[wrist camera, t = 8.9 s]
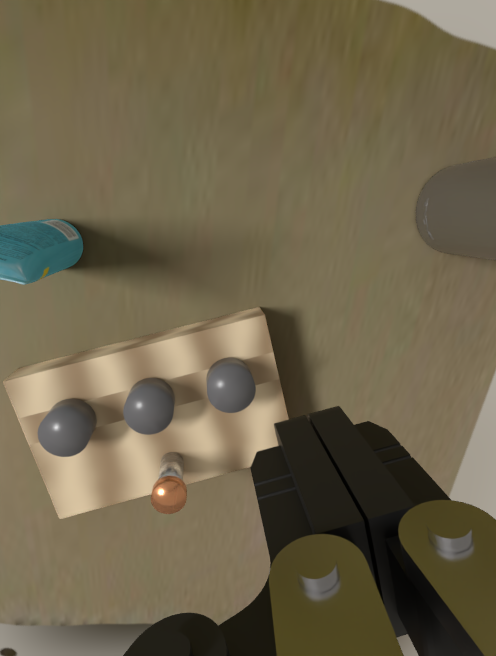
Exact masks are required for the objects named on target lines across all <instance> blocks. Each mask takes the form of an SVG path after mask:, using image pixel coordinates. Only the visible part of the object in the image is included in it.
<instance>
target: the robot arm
mask: <svg viewBox="0 0 496 656" xmlns="http://www.w3.org/2000/svg"><path fill="white" fill-rule="evenodd" d="M416 222H417V227H418V230H419V232H420V234H421V236H422V238H423V239H424V240H425V242H426V243H427V244H428V245H429V246H431V247H432V248H433V249H435V250H438V251H440V252H444V253H449V254H456V255H463V256H469V257H476V258H483V259H490V260H496V157H493V158H488V159H483V160H478V161H473V162H468V163H463V164H458V165H454V166H450V167H447V168H445V169H443V170H441V171H439V172H438V173H436V174H435V175H434V176H432V178H431V179H430V180H429V181H428V182H427V183H426V184H425V186H424V188H423V189H422V191H421V193H420V196H419V199H418V201H417V207H416ZM274 428H275V433H276V437H277V441H278V445H279V446H276V447H272V448H268V449H265V450H261V451H257V453H256V455H255V458H254V460H253V463H252V465H251V467H250V468H251V472H252V477H253V481H254V486H255V491H256V495H257V499H258V504H259V509H260V514H261V518H262V523H263V527H264V532H265V536H266V541H267V546H268V550H269V555H270V562H271V564H270V572H269V576H268V579H267V581H266V584H265V586H264V587H263V589H262V591H261V592H260V594H259V595H258V596H257V597H256V598H255V600H254V601H253V602H251V603H250V604H249V605H248V606H247V607H246V608H244V609H243V610H242V611H240V612H239V613H237V614H236V615H234V616H233V617H231V618H230V619H228V620H226V621H225V622H223V623H222V624H220V625H219V626H218V625H217V624H216V623H215V622H214V621H213V620H211V619H210V618H208V617H206V616H204V615H201V614H197V613H180V614H176V615H172V616H169V617H167V618H164V619H162V620H160V621H159V622H157V623H155V624H154V625H152V626H151V627H149V628H148V629H147V630H145V631H144V632H143V633H142V634H141V635H140V636H139V637H138V638H137V639H136V640H135V641H134V643H133V644H132V645H131V646H130V648H129V649H128V650H127V651H126V653H125V654H124V655H123V656H404V655H403V653H402V650H401V647H400V645H399V642H398V640H397V637H399V636H402V635H406V634H408V635H409V637H410V639H411V641H412V643H413V645H414V647H415V649H416V651H417V653H418V655H419V656H496V519H494V518H493V517H492V516H491V515H489V514H488V513H486V512H485V511H483V510H481V509H480V508H477V507H475V506H473V505H470V504H466V503H464V502H459V501H452V500H451V499H450V498H449V497H448V496H447V495H446V494H445V493H444V491H443V490H442V489H441V488H440V487H439V486H438V485H437V484H436V483H435V481H434V480H433V479H432V478H431V477H430V476H429V475H428V474H427V473H426V472H425V470H424V469H423V468H422V467H421V466H420V465H419V464H418V463H417V462H416V460H415V459H414V458H413V457H412V458H411V456H410V454H409V453H408V452H407V451H406V449H405V448H404V447H403V446H401V445H400V443H399V442H398V441H397V440H396V438H395V437H394V436H393V435H392V434H391V433H390V432H389V431H388V430H387V429H385V428H383V427H380V426H378V425H376V424H374V423H372V422H369V421H367V422H363V423H360V424H356V425H353V423H352V422H351V421H350V419H349V418H348V417H347V416H346V414H345V413H344V412H343V410H342V409H341V408H340V407H339V406H336V407H333V408H329V409H325V410H322V411H318V412H314V413H310V414H307V417H306V416H305V415H303V416H300V417H296V418H292V419H289V420H285V421H281V422H277V423H274Z"/></svg>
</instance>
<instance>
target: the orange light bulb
mask: <svg viewBox="0 0 496 656" xmlns="http://www.w3.org/2000/svg"><path fill="white" fill-rule="evenodd" d="M183 468H184V460H183V457H182V456H181V455H180V454H179V453H176V452H169V453H166V454H165V455H164V456H163V457H162V459H161V463H160V470H159V477H158V480H157V481H156V482H155V484H154V486H153V489H152V495H151V503H152V505H153V507H154V508H155V509H156V510H157V511H159V512H161V513H164V514H172V513H175V512H178V511H179V510H181V509H182V508H183V506H184V505H185V503H186V496H187V488H186V485H185V483H184V482H183Z"/></svg>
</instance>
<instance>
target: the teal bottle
mask: <svg viewBox="0 0 496 656" xmlns="http://www.w3.org/2000/svg"><path fill="white" fill-rule="evenodd" d="M82 252H83V241H82V238H81V235H80V233H79V232H78V231H77V229H76V228H75V227H74V226H73V225H71V224H70V223H68V222H66V221H63V220H59V219H48V220H39V221H31V222H23V223H16V224H8V225H1V226H0V279H1V280H7V281H12V282H17V283H20V284H29V283H32V282H35V281H38V280H40V279H42V278H44V277H46V276H49V275H51V274H54V273H56V272H59V271H61V270H64V269H66V268H69V267H71V266H73V265H74V264H75V263H77V261H78V260H79V259H80V257H81V255H82Z"/></svg>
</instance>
